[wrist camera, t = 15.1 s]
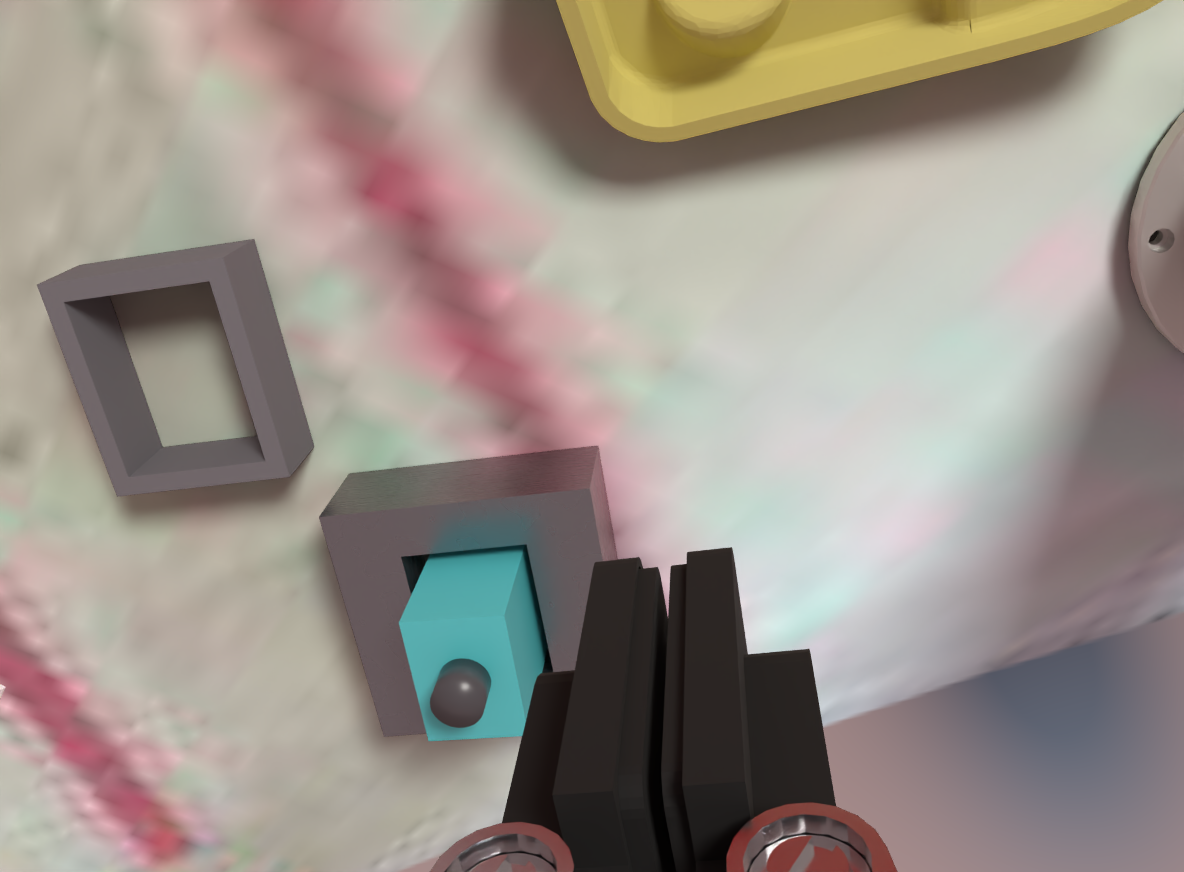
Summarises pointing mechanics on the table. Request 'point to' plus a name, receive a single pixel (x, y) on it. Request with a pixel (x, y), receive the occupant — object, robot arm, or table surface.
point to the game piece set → (1, 690)
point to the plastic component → (795, 51)
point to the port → (456, 523)
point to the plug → (475, 642)
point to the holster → (118, 394)
